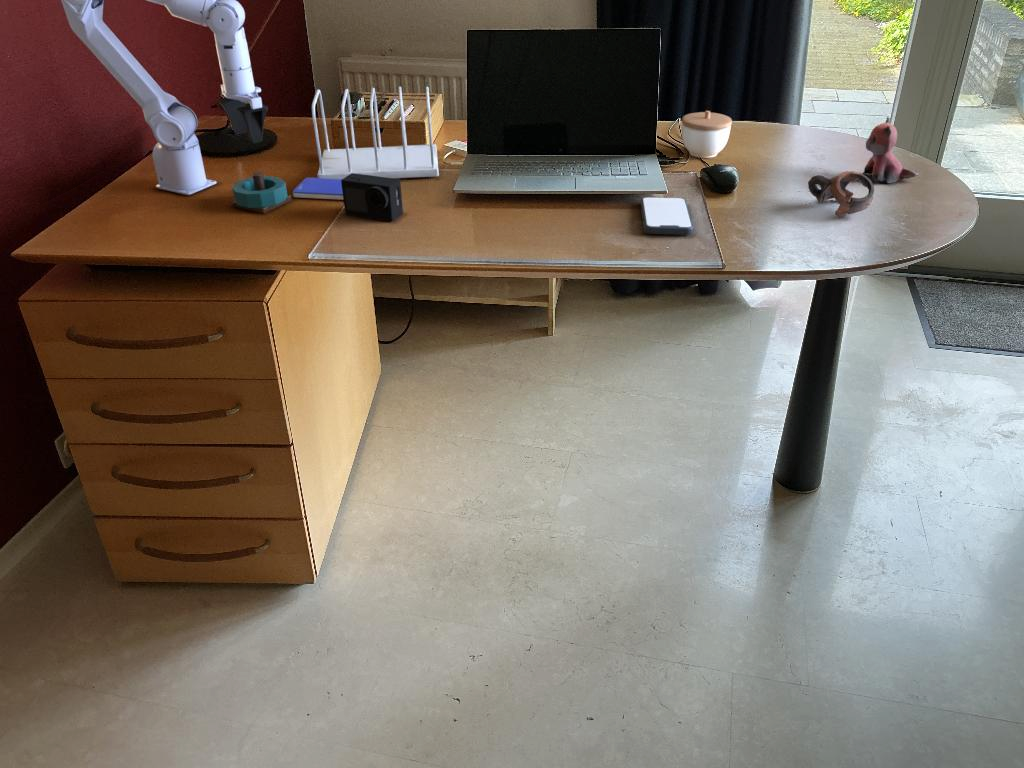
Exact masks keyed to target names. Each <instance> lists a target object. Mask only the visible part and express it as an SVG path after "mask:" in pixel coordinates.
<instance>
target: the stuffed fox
mask: <svg viewBox="0 0 1024 768" xmlns="http://www.w3.org/2000/svg"><path fill="white" fill-rule="evenodd" d="M897 139H898V130H897V128H896V126H895V125H893V124H891V118H890V117H889V116H886V120H885V122H884V123H880V124H877V125H876V126H874V128H873V129H872V130H871V131H870V134H869V137H868V138H867V139H866V141H865V149H866V150H867V151H869V152H870V153H872V156H871V157H870V158H869V159H868V161H867V163H866V165H865V167H864V168H863V172H862V174H863V175H872V176H871V179H873V180H874V181H876V182H880V183H886V184H892V183H895V182H898V181H902V180H907V179H911V178H915V177H916V176H919V175H920V174H919V173H917V172H915V171H912V170H910V169H907V168H905V167H903V166H902V164H901V161H899V159H898V158H897V157H896V156H895V155H894V154H893V153H892V149H893V148H894V147H895V145H896V143H897Z"/></svg>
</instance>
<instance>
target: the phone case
mask: <svg viewBox="0 0 1024 768" xmlns="http://www.w3.org/2000/svg"><path fill="white" fill-rule="evenodd" d="M640 208H641V209H640V210H641V216H642V219H641V220H642V222H643V230H644V232H645V233H646V234H649V235H680V236H681V235H683V236H684V235H687V236H688V235H692V234H693V233H694V224H693V220H692V217H691V213H690V209H689V206H688V203H687V199H686V198H683V197H661V196H660V197H651V196H646V197H645V196H644V197H642V198H641V199H640Z"/></svg>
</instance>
